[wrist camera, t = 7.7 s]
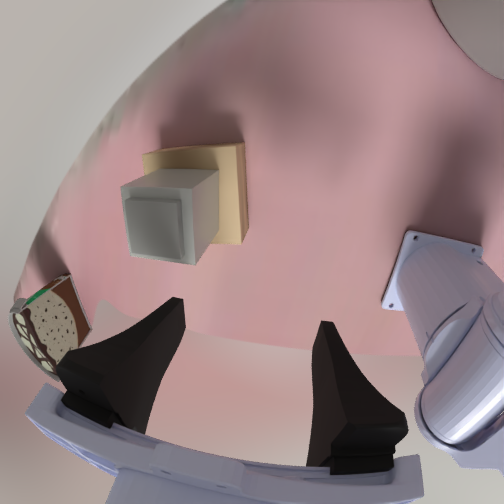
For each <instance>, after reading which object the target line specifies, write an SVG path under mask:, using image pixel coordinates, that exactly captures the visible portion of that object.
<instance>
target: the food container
mask: <svg viewBox="0 0 504 504" xmlns="http://www.w3.org/2000/svg"><path fill="white" fill-rule="evenodd" d="M8 323H9V326H10V329H11V331H12V333H13V335H14V337H15V339H16V341H17V342H18V344H19V345H20V347H21V348H22V350H23V351H24V352H25V353H26V355H27V356H28V357H29V358H30V359H31V360H32V361H33V362H34V364H36V366H37V367H39V368H40V369H41V370H42V371H43V372H44V373H45V374H47V375H48V376H49V377H51V378H53V379H54V380H56V381H57V382H59V381H60V379H59V377H58V375H57V373H56V369H55V368H56V366H57V364H58V363H59V362H60V360H61V359H62V358H63V356H64V355H65V354H66V353H67V351H69V350H74V349H78V348H80V347H81V346H82V344H83V343H84V341H85V340H86V338H87V337H88V335H89V334H90V332H91V331H92V327H91V325H90V323H89V321H88V318H87V316H86V313H85V311H84V308H83V306H82V303H81V301H80V298H79V295H78V293H77V290H76V287H75V284H74V281H73V278H72V275H71V274H63V275H61V276H59V277H58V278H56V279H55V280H53V281H52V282H51V283H49V284H48V285H46V286H45V287H43V288H42V289H41V290H39V291H38V292H36V293H35V294H34V295H32V296H31V297H29V298H28V299H25V298H19V299H17V301H16V302H15V304H14V305H13V307H12V308H11V310H10V314H9V315H8Z"/></svg>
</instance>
